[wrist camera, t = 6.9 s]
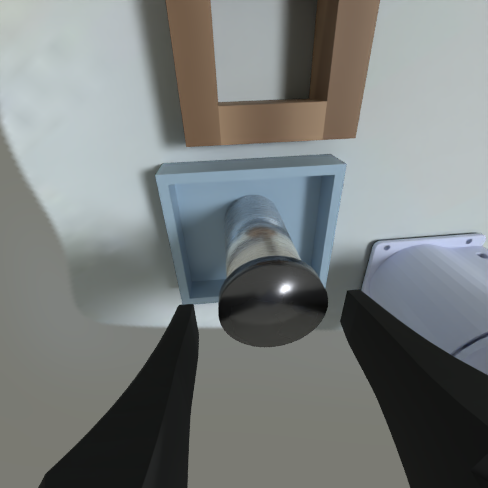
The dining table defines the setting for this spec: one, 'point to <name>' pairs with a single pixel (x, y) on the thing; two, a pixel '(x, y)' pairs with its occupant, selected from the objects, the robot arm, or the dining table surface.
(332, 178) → the slate-blue tray
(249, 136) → the wooden square frame
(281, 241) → the glass jar
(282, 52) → the dining table surface
